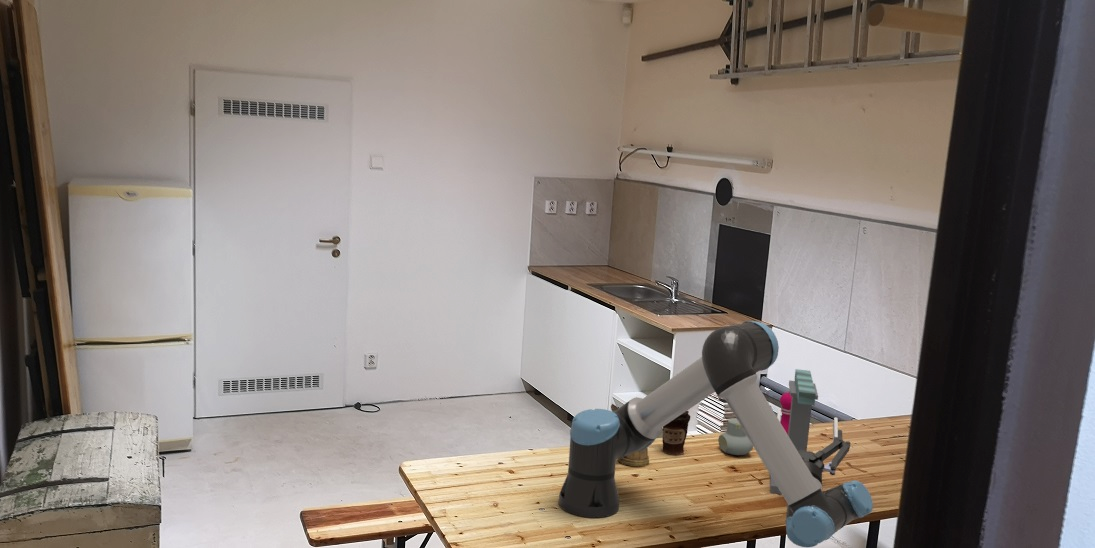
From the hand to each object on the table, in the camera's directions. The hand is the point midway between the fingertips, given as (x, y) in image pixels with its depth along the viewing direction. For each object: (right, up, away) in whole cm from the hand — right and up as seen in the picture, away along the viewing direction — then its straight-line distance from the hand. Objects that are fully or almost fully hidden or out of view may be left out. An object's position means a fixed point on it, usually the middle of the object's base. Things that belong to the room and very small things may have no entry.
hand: (806, 417), depth 210 cm
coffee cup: (-27, -18, +43) cm, 54 cm away
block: (+4, +4, +15) cm, 16 cm away
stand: (+3, -23, +22) cm, 32 cm away
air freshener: (-8, -19, +47) cm, 51 cm away
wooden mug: (-42, -19, +32) cm, 56 cm away
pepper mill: (+9, -19, +52) cm, 57 cm away
